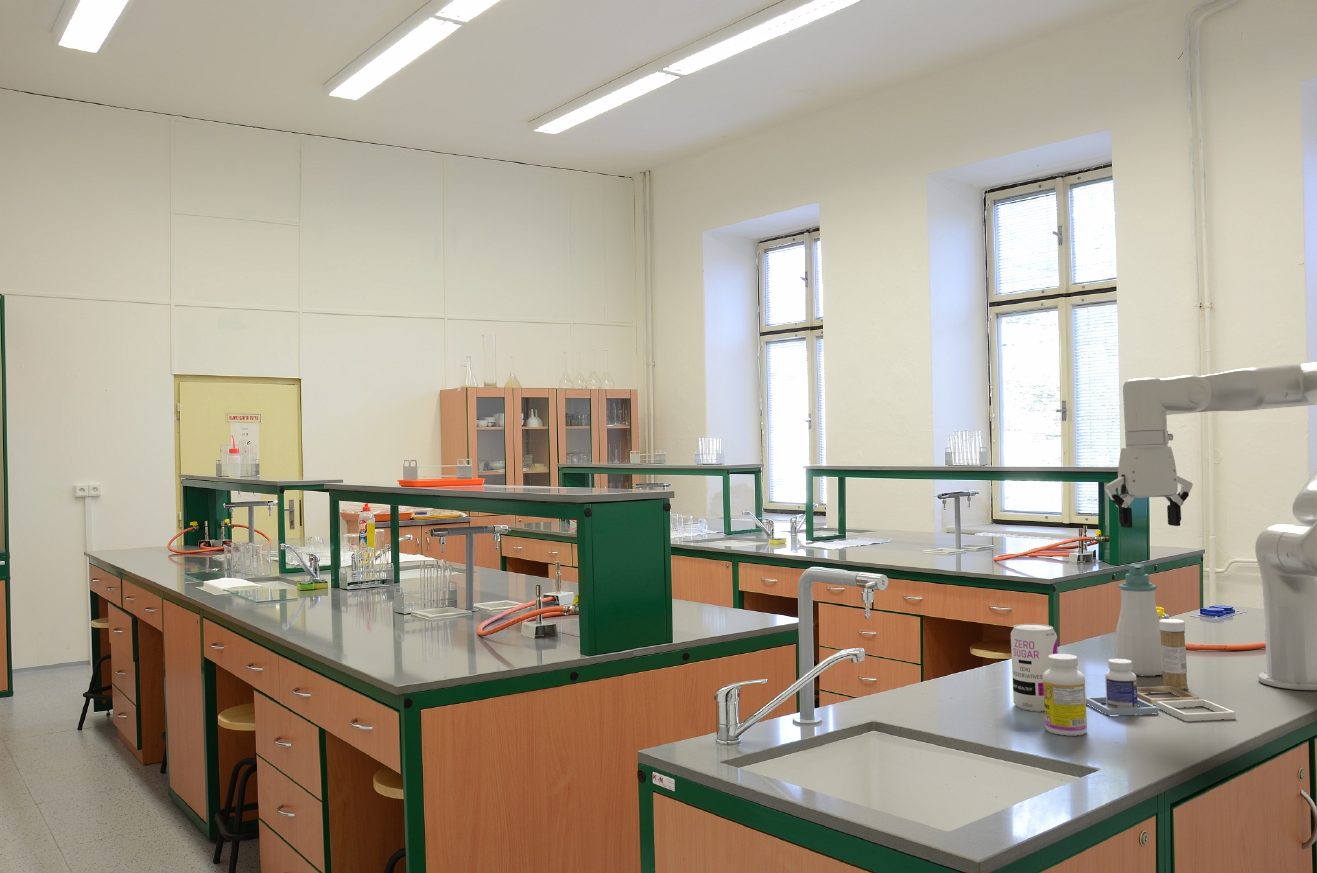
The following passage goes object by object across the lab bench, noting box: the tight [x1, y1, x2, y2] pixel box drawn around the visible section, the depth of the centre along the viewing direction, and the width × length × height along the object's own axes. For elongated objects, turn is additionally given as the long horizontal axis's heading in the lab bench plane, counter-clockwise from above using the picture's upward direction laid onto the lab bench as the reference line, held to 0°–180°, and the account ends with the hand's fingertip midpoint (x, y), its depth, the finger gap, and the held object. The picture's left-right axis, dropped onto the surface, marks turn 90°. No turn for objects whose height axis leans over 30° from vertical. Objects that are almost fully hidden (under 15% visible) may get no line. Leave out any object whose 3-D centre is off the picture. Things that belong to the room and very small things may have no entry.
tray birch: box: [1137, 685, 1200, 705], centre depth 183 cm, size 9×9×1 cm
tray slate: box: [1086, 696, 1159, 717], centre depth 177 cm, size 9×9×1 cm
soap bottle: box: [1114, 563, 1163, 677], centre depth 205 cm, size 10×10×23 cm
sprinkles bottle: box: [1159, 618, 1189, 691], centre depth 191 cm, size 5×5×14 cm
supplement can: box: [1010, 623, 1059, 713], centre depth 180 cm, size 8×8×15 cm
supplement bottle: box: [1043, 653, 1088, 737], centre depth 164 cm, size 7×7×13 cm
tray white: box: [1156, 698, 1236, 722], centre depth 172 cm, size 9×9×1 cm
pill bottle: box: [1104, 658, 1139, 709], centre depth 177 cm, size 5×5×9 cm
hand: (1150, 526), depth 190 cm, fingers open, 9 cm apart
